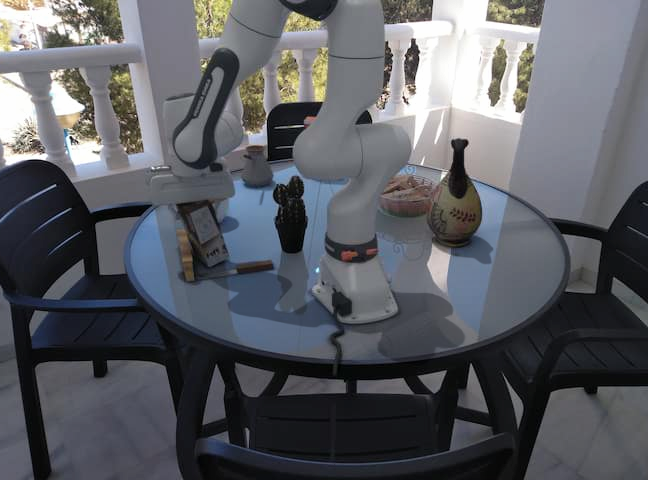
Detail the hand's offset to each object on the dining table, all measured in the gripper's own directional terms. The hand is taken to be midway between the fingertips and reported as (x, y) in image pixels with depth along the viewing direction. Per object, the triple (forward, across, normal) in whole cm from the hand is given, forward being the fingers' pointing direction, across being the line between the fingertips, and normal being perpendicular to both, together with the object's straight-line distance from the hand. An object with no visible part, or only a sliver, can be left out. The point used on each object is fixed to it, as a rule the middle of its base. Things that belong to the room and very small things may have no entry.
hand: (196, 217), depth 134 cm
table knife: (+12, +7, -10) cm, 17 cm away
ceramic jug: (+13, +68, -10) cm, 70 cm away
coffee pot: (+12, +23, +47) cm, 54 cm away
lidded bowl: (+12, +5, +24) cm, 27 cm away
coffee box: (+12, +3, 0) cm, 12 cm away
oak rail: (+12, -4, -1) cm, 13 cm away
